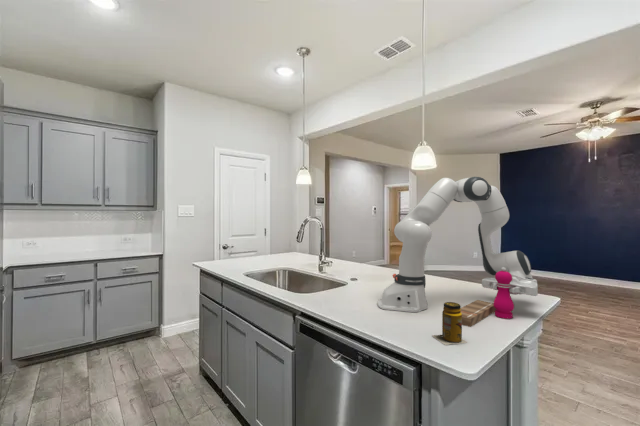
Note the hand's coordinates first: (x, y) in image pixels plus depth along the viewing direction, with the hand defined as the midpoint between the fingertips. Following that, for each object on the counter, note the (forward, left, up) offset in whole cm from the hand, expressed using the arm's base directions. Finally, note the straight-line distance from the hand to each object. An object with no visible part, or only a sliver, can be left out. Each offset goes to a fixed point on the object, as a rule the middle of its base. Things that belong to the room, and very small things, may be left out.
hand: (503, 289), depth 123 cm
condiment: (-28, -25, -12) cm, 40 cm away
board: (-11, 0, -11) cm, 16 cm away
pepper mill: (0, +1, -11) cm, 11 cm away
